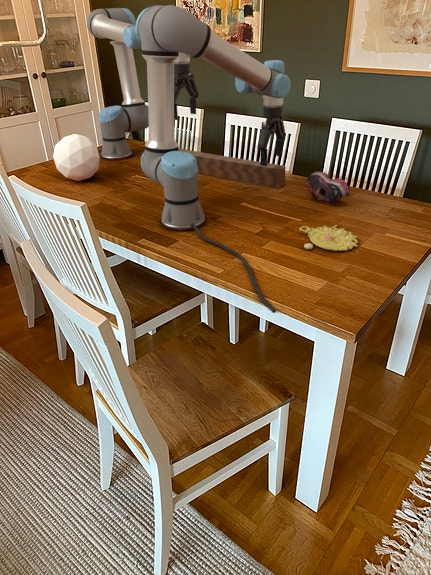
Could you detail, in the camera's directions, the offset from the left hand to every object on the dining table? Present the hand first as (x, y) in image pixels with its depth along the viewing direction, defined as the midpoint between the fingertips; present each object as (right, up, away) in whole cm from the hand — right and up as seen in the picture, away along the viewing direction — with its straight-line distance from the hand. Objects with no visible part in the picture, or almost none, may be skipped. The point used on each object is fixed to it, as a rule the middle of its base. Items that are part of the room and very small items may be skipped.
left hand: (184, 116), depth 194 cm
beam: (+19, -26, +2) cm, 32 cm away
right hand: (+37, -23, -13) cm, 45 cm away
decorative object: (+50, -60, -53) cm, 94 cm away
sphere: (-47, -26, +5) cm, 54 cm away
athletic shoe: (+55, -41, -23) cm, 72 cm away
